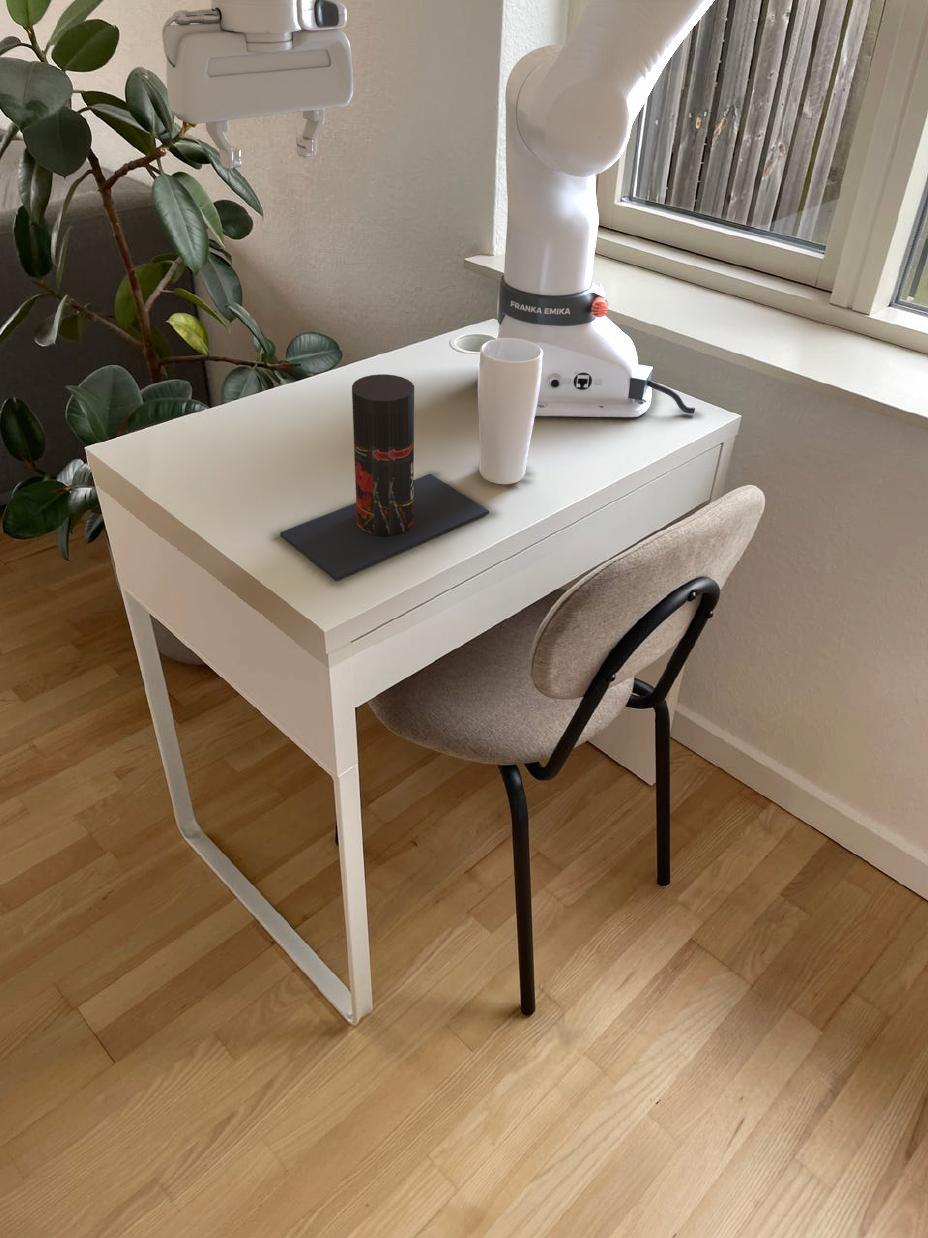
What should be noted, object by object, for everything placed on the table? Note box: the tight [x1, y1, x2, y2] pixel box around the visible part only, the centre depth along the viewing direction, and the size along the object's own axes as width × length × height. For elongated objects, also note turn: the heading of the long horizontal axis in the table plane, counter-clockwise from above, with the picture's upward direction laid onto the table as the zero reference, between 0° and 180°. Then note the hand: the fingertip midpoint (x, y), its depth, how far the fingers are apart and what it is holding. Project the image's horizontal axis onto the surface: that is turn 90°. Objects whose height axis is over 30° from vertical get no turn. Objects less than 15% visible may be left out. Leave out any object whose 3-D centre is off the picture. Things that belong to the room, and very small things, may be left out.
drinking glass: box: [477, 338, 543, 485], centre depth 103 cm, size 7×7×15 cm
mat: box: [279, 473, 490, 582], centre depth 98 cm, size 20×10×1 cm, turn 131°
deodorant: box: [351, 373, 415, 537], centre depth 93 cm, size 6×6×15 cm
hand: (270, 161), depth 99 cm, fingers open, 8 cm apart
